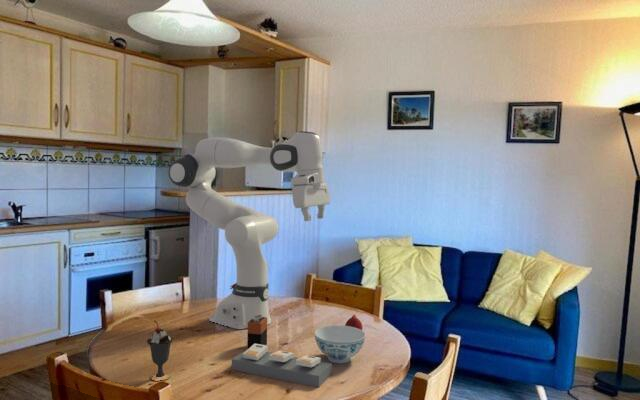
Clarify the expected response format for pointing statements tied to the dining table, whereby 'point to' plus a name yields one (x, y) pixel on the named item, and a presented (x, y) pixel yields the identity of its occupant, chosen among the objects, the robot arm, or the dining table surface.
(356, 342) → the chinaware
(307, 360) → the block
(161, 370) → the sundae
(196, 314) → the dining table surface
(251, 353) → the rocker
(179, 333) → the dining table surface
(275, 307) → the dining table surface
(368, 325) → the dining table surface
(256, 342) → the battery
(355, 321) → the red rounded piece
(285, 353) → the rocker
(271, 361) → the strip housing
